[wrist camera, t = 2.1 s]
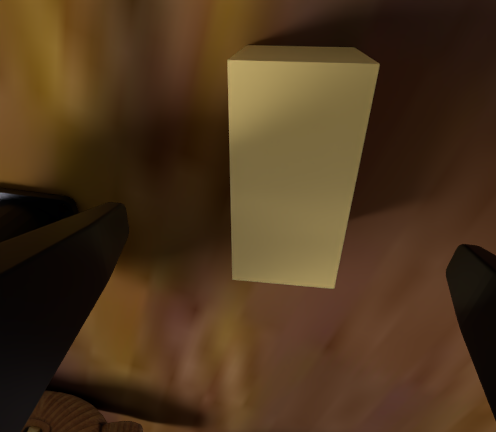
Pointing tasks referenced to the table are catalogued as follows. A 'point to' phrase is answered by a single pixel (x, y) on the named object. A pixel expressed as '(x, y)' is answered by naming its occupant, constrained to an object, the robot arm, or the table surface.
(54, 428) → the wooden carving
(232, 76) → the block
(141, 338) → the table surface
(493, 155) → the table surface
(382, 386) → the table surface
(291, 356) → the table surface
